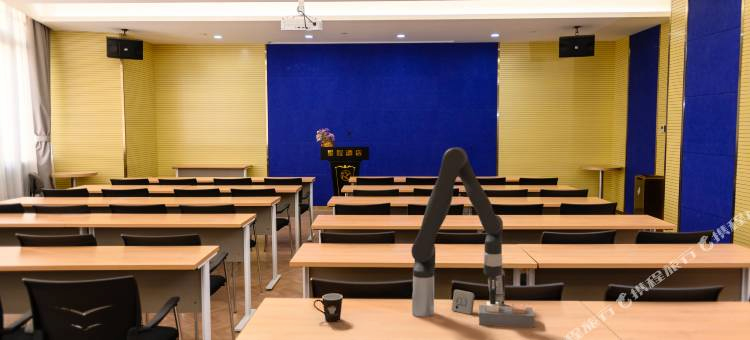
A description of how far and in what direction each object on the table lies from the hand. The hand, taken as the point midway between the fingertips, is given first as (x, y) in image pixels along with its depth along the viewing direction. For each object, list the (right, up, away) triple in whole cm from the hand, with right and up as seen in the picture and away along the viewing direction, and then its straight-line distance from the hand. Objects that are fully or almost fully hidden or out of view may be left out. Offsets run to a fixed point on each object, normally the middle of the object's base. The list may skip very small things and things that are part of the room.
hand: (492, 303), depth 237 cm
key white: (0, -5, +1) cm, 5 cm away
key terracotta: (+11, -6, -1) cm, 12 cm away
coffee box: (+6, -6, +18) cm, 20 cm away
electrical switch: (-10, -7, +13) cm, 18 cm away
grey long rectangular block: (+5, -8, 0) cm, 9 cm away
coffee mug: (-69, -8, +5) cm, 70 cm away
